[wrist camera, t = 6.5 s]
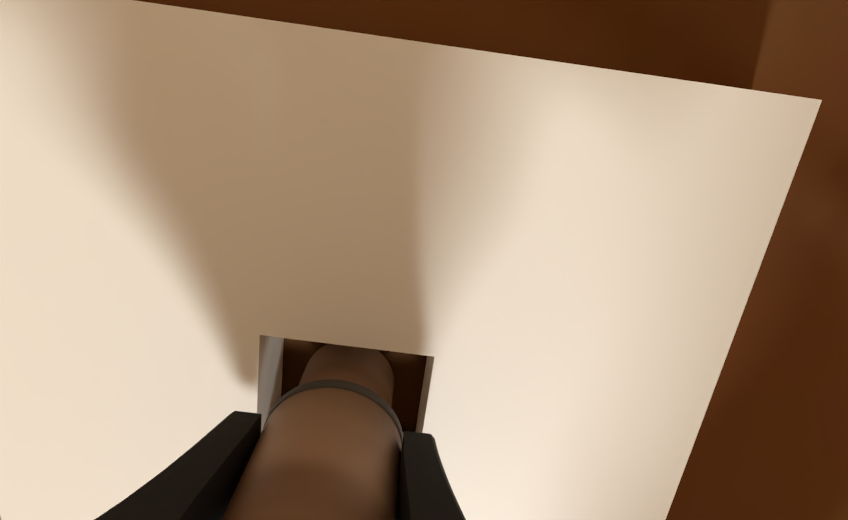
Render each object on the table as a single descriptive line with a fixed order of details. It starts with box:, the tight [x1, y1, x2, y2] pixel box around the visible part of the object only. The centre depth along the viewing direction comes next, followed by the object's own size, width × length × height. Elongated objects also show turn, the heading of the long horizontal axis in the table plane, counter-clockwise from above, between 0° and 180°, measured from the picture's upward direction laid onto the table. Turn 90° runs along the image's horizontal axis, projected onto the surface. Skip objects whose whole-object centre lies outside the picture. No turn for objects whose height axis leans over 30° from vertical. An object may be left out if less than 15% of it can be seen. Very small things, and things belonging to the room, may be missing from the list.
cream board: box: [0, 0, 822, 520], centre depth 15 cm, size 18×18×2 cm
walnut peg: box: [221, 344, 403, 520], centre depth 11 cm, size 3×3×8 cm
